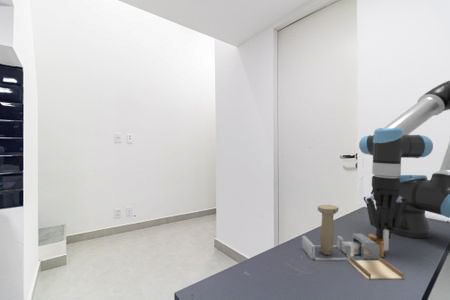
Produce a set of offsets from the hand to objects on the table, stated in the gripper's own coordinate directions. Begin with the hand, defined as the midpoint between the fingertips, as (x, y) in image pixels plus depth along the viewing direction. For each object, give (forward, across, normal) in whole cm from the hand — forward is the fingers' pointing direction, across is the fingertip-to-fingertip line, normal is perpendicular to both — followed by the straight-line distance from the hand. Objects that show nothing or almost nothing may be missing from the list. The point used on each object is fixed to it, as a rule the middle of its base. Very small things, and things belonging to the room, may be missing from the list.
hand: (382, 248), depth 76 cm
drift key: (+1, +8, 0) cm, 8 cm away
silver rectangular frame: (+1, +19, 0) cm, 19 cm away
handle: (+2, +19, 0) cm, 19 cm away
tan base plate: (+1, +10, +10) cm, 14 cm away
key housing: (+2, +6, 0) cm, 6 cm away
